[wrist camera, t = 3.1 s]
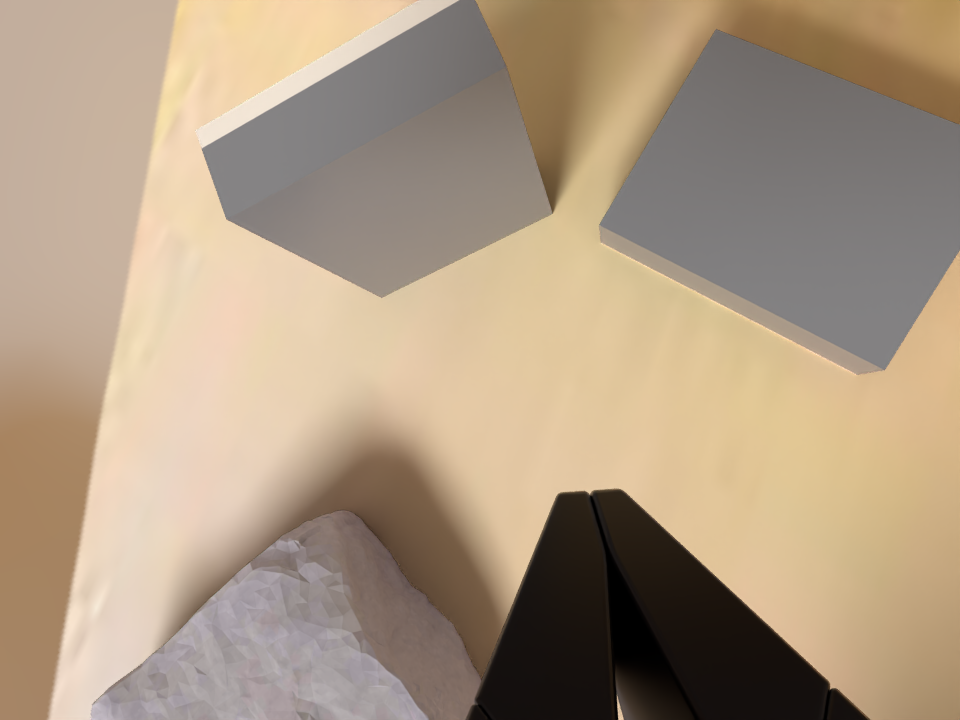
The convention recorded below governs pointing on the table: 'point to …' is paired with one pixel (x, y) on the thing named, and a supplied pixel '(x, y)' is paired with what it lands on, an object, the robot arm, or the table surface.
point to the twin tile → (796, 202)
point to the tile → (384, 151)
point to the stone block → (307, 642)
